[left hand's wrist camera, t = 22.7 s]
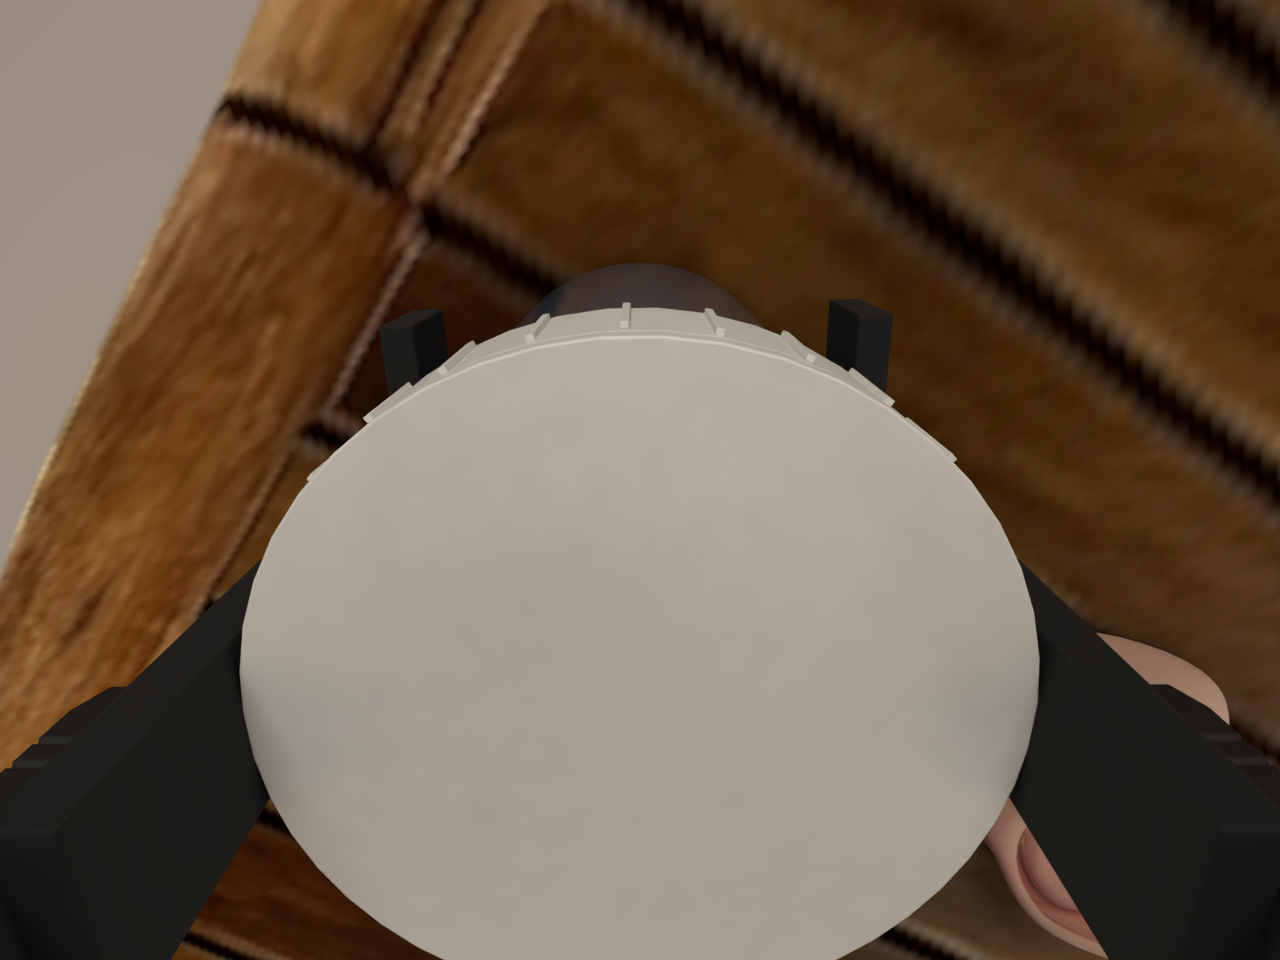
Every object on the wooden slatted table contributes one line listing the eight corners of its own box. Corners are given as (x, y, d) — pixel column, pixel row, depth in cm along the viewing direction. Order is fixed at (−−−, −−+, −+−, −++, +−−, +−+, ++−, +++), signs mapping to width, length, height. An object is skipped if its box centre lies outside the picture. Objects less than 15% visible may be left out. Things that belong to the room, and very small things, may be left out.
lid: (1025, 792, 14) (1100, 907, 11) (473, 940, 15) (445, 1069, 13) (887, 184, 10) (955, 180, 8) (174, 450, 11) (63, 511, 9)
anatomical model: (1038, 689, 24) (1382, 705, 25) (985, 624, 28) (1285, 639, 28) (955, 975, 29) (1245, 987, 29) (919, 887, 33) (1177, 898, 33)
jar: (649, 193, 23) (666, 184, 9) (844, 421, 26) (1109, 711, 11) (434, 404, 25) (159, 677, 11) (631, 594, 28) (622, 1020, 13)
